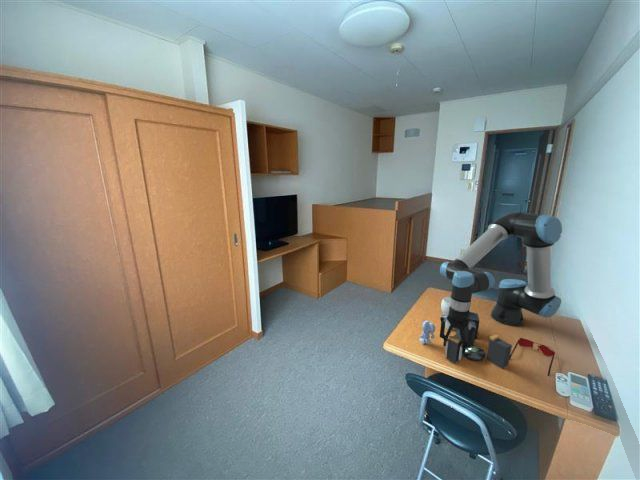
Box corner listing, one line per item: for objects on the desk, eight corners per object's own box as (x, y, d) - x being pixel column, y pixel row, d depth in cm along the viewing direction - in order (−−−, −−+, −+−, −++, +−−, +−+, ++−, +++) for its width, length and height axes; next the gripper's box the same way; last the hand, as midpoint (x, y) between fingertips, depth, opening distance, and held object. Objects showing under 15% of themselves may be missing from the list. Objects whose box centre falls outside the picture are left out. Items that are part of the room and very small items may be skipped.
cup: (456, 321, 148) (459, 296, 144) (464, 332, 138) (467, 306, 134) (436, 320, 149) (439, 296, 145) (442, 331, 139) (445, 305, 135)
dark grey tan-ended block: (508, 365, 113) (512, 343, 111) (502, 368, 112) (506, 345, 109) (491, 356, 120) (495, 334, 117) (486, 358, 118) (489, 336, 115)
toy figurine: (430, 338, 133) (432, 317, 130) (435, 346, 126) (437, 324, 124) (416, 338, 133) (418, 316, 130) (420, 346, 127) (422, 324, 124)
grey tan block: (470, 339, 131) (473, 319, 129) (473, 344, 127) (477, 324, 125) (455, 338, 132) (458, 318, 130) (458, 343, 129) (461, 323, 126)
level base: (479, 348, 125) (480, 342, 124) (488, 362, 116) (489, 355, 115) (457, 346, 126) (458, 340, 125) (464, 360, 117) (465, 353, 116)
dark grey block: (454, 352, 122) (457, 331, 119) (463, 357, 119) (466, 335, 116) (446, 358, 118) (449, 336, 115) (455, 363, 115) (458, 341, 112)
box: (463, 328, 141) (465, 310, 138) (475, 331, 139) (478, 313, 136) (464, 336, 134) (466, 318, 132) (476, 339, 132) (479, 320, 129)
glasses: (554, 358, 119) (556, 348, 118) (549, 377, 108) (551, 366, 107) (516, 344, 129) (518, 335, 127) (508, 360, 118) (510, 350, 116)
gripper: (434, 304, 114) (429, 351, 119) (482, 318, 102) (474, 369, 108) (439, 298, 119) (434, 343, 125) (485, 311, 108) (478, 359, 114)
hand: (453, 355), depth 117 cm, fingers open, 5 cm apart
